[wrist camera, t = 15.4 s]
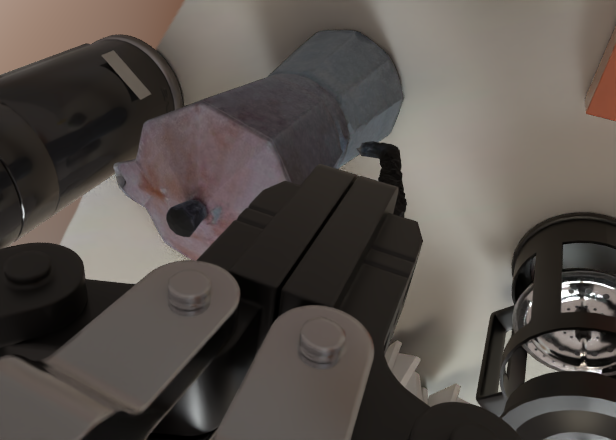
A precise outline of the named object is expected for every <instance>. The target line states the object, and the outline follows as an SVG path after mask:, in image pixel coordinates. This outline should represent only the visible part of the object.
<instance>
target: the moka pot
mask: <svg viewBox="0 0 616 440" xmlns="http://www.w3.org/2000/svg"><path fill="white" fill-rule="evenodd" d="M403 100H404V96H403V91H402V87H401V83H400V80H399V76H398V74H397V71H396V68H395V66H394V65H393V63H392V61H391V59H390V57H389V56H388V55H387V53H386V52H385V51H384V50H383V49H381V48H380V47H379V46H378V45H376V44H375V43H374V42H373V41H371V40H370V39H369V38H367V37H366V36H364V35H362V34H361V33H360V32H357V31H352V30H325V31H319V32H317V33H316V34H314V35H313V36H312V37H311V38H310V39H308V40H307V41H306V42H305V43H304V44H303V45H301V46H300V47H299V48H298V49H297V50H296V51H294V52H293V53H292V54H291V55H290V56H289V57H288V58H287V59H286V60H285V61H284V62H283V63H282V64H281V65H280V66H279V67H278V68H277V69H275V70H274V71H273V72H272V73H271V74H270V75H269V76H268V77H266V78H263V79H260V80H257V81H254V82H252V83H249V84H246V85H243V86H240V87H237V88H234V89H231V90H229V91H226V92H223V93H220V94H217V95H214V96H212V97H209V98H206V99H203V100H200V101H198V102H195V103H192V104H190V105H187V106H185V107H182V108H179V109H177V110H174V111H171V112H169V113H166V114H163V115H161V116H158V117H155V118H153V119H150V120H147V121H146V122H145V123H144V124H143V128H142V133H141V137H140V143H139V148H138V153H137V156H136V159H133V160H129V161H124V162H117V163H115V164H114V166H113V168H114V170H115V174H116V178H117V182H118V185H119V188H120V189H121V190H122V191H123V192H124V193H125V195H127V196H128V197H130V198H131V199H132V200H134V201H135V202H137V203H139V204H140V205H142V206H144V207H145V208H146V209H147V211H148V213H149V215H150V216H151V218H152V220H153V222H154V224H155V226H156V228H157V230H158V232H159V234H160V235H161V237H162V239H163V241H164V242H165V243H166V244H168V245H169V246H170V247H172V248H173V249H175V250H177V251H178V252H180V253H181V254H183V255H185V256H186V257H188V258H190V259H191V260H194V261H196V260H197V259H198V258H199V257H200V256H201V255H202V254H203V253H204V252H205V251H206V250H207V249H208V248H209V247H210V245H211V244H212V243H213V242H214V241H215V240H216V239H217V238H218V237H219V236H220V235H221V234H222V233H223V232H224V231H225V230H226V229H227V227H228V226H229V225H230V224H231V223H232V222H233V221H234V220H237V218H238V216H239V215H240V214H241V213H242V212H243V211H244V210H245V208H246V207H247V208H248V207H249V204H250V203H251V202H252V201H253V200H254V199H255V198H256V197H257V196H258V195H259V194H260V193H261V192H262V190H264V189H266V188H269V187H271V186H274V185H276V184H278V183H281V182H283V181H288V182H291V183H294V184H298V185H301V184H302V183H303V182H304V180H305V179H306V178H307V177H308V176H309V175H310V173H311V172H312V171H313V170H314V169H315V167H316V166H317V165H319V164H322V165H326V166H329V167H332V168H336V169H339V167H341V166H343V165H344V164H346V163H347V162H349V161H350V160H352V159H353V158H355V157H356V156H358V155H359V154H360V155H361V156H366V157H373V158H378V159H380V165H381V167H382V169H381V171H380V175H379V176H380V177H379V178H378V180H379V182H383V183H386V184H389V185H393V186H396V187H398V195H397V200H396V204H395V208H394V212H393V214H394V215H397V216H400V217H403V218H404V213H405V211H406V205H407V202H406V199H405V193H404V188H403V183H402V172H401V171H400V170H401V159H400V150H399V149H398V147H396V146H394V145H392V144H386V143H378V142H379V141H381V140H382V139H383V138H385V137H386V136H388V135H389V134H390V133H391V131H392V128H393V126H394V124H395V121H396V119H397V117H398V114H399V111H400V108H401V104H402V102H403Z"/></svg>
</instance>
